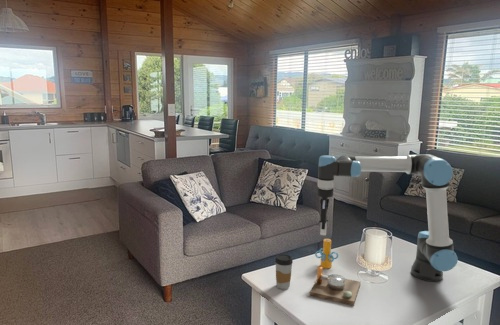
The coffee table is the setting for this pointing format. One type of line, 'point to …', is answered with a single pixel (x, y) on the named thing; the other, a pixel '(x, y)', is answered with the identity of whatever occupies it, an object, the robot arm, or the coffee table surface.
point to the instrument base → (336, 291)
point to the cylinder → (326, 254)
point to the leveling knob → (331, 280)
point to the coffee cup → (283, 271)
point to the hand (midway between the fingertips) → (323, 234)
